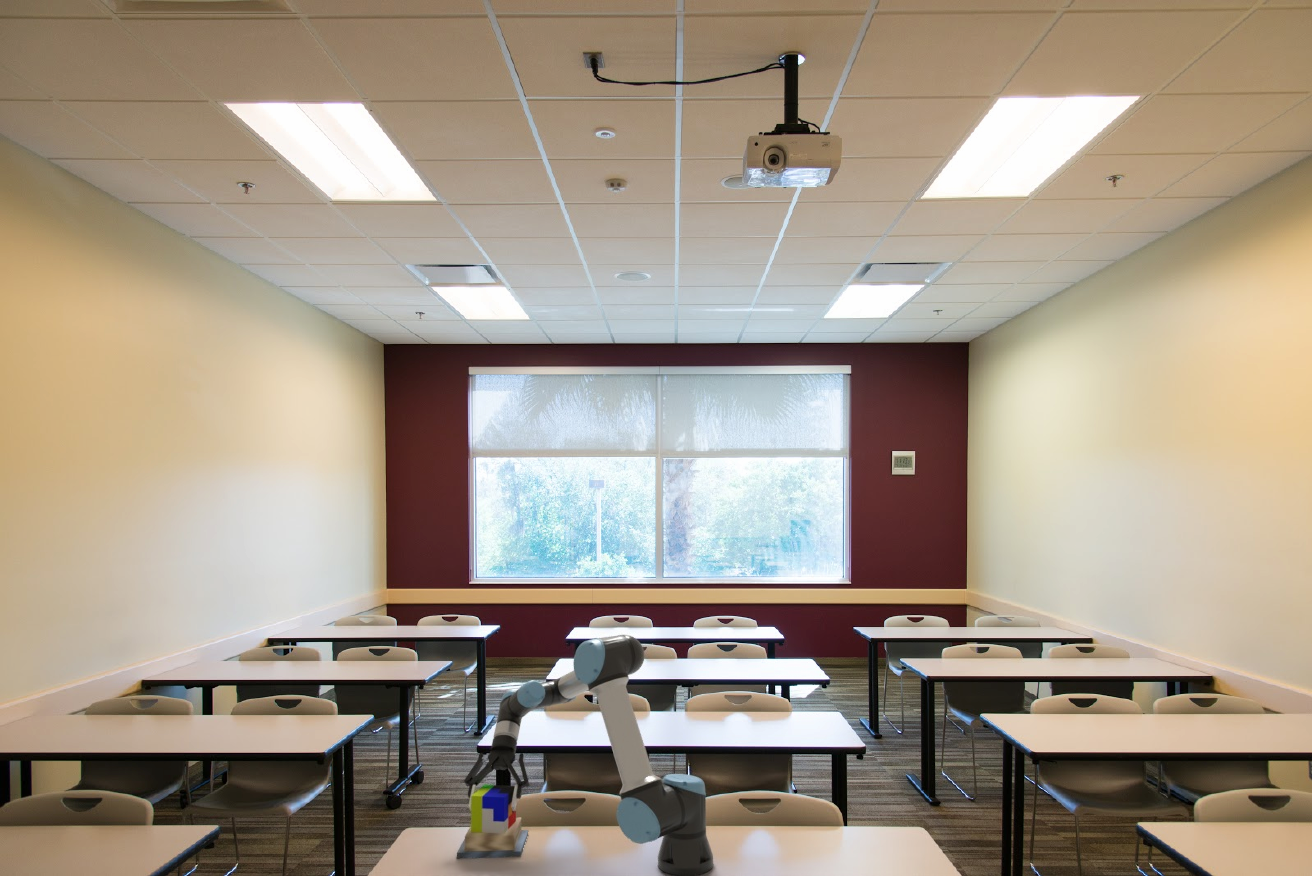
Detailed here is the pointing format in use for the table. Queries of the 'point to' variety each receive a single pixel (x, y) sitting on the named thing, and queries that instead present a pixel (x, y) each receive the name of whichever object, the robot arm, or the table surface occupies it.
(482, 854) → the foundation block
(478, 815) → the puzzle toy
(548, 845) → the table surface
